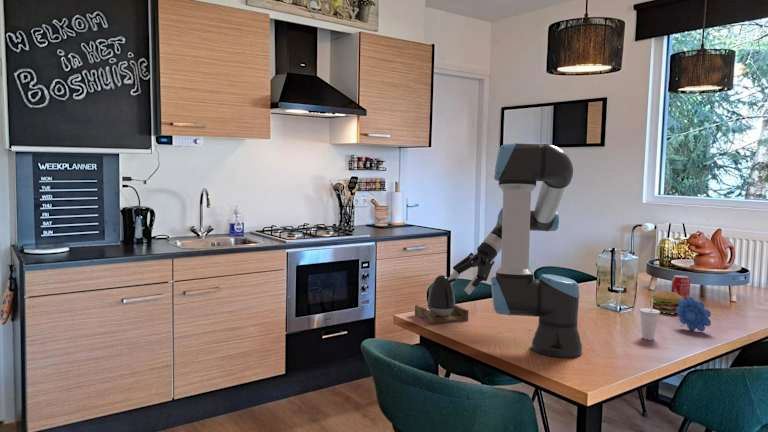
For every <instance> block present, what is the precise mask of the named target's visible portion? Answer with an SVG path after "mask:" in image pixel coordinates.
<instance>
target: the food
mask: <svg viewBox="0 0 768 432" xmlns="http://www.w3.org/2000/svg"><path fill="white" fill-rule="evenodd" d="M651 298H653V309H655V310H658V311H660V313H661V312H665V313H664V314H666V313H677V312H676V308H677V307H680V305H679V301H680V300H681V299H682V297H681V296H680V295H678V294H676V293H673V292H671V291H658V292H656V293H654V294H653V295H652V296H651V297H650V300H649V303H650V304H649V305H650V307H651Z"/></svg>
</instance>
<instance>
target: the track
mask: <svg viewBox="0 0 768 432" xmlns="http://www.w3.org/2000/svg"><path fill="white" fill-rule="evenodd" d="M414 316H415V317H417V318H419V319H421V320H423V321H425V322H426V323H429V324H430V325H432V326H434V325H444V324H446V325H447V324H453V323H462V322H469V309H466V308H463V307H461V306H459V305H457V304H455V307H454V309H453V312H452V313H451V314H450V315H448V316H445V317H439V316H436V314H435V313H433V312H431V311H430V310H429V309H427V308H425V307H422V306H421V305H418V304H416V305H414Z"/></svg>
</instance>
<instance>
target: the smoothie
mask: <svg viewBox="0 0 768 432" xmlns="http://www.w3.org/2000/svg"><path fill="white" fill-rule="evenodd" d="M650 300H651V306H650V308H643V307H642V308H640V309H639V313H640V326H641V339H643V338H644V340H647V339H648V340H649V341H653V339H654V340H655V335H656V332H657V326H658V321H659V317H660V315H661V312H660V311H658V310H655V309H653V298H651V297H650Z"/></svg>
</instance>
